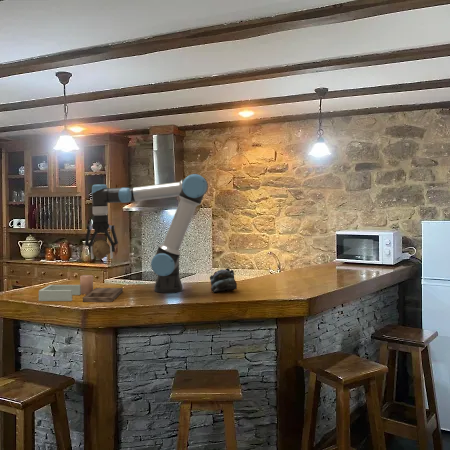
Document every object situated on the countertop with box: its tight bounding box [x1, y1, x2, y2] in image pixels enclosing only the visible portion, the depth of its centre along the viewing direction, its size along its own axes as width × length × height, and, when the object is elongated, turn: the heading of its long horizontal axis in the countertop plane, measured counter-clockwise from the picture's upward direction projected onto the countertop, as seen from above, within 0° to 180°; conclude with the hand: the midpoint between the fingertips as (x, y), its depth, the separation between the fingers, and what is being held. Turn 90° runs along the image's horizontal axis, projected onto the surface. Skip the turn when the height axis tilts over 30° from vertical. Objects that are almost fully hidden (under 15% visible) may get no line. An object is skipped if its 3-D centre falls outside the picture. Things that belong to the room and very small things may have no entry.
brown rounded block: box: [79, 274, 94, 295], centre depth 250 cm, size 6×6×9 cm
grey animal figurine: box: [209, 267, 238, 293], centre depth 257 cm, size 15×12×14 cm
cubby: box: [38, 284, 82, 302], centre depth 238 cm, size 16×16×5 cm
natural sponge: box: [92, 239, 111, 260], centre depth 244 cm, size 9×9×10 cm
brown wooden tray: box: [82, 287, 124, 303], centre depth 241 cm, size 14×26×2 cm, turn 1°
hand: (102, 258), depth 245 cm, fingers closed on natural sponge, 9 cm apart
